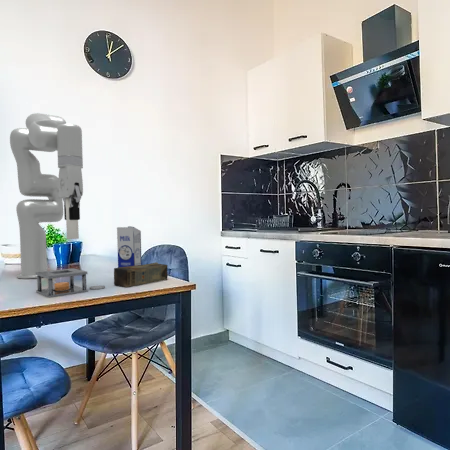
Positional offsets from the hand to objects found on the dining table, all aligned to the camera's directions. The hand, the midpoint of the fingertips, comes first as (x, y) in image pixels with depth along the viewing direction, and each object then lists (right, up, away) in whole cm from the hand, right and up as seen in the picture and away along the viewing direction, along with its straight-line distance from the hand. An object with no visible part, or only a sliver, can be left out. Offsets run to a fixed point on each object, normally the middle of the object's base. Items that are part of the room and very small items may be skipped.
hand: (72, 219), depth 123 cm
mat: (+7, -23, +4) cm, 24 cm away
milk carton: (+12, -23, +27) cm, 37 cm away
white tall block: (0, -6, 0) cm, 6 cm away
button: (-3, -23, -1) cm, 23 cm away
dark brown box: (+20, -23, +14) cm, 33 cm away
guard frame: (-3, -23, -1) cm, 24 cm away
